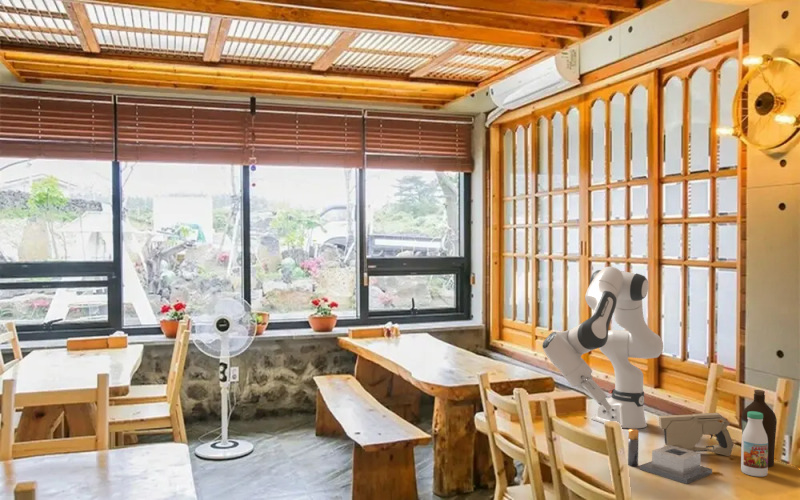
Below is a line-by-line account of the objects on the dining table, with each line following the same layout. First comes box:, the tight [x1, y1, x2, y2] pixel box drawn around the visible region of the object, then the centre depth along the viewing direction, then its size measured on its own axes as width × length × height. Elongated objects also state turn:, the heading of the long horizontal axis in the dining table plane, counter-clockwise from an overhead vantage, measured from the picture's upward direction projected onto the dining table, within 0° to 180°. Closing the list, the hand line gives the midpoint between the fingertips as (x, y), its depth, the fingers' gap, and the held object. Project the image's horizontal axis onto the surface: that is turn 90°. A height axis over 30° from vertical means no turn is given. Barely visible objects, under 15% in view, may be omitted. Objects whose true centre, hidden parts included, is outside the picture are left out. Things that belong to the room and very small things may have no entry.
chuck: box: [639, 445, 713, 485], centre depth 213 cm, size 16×16×6 cm
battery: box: [627, 428, 640, 468], centre depth 219 cm, size 3×3×12 cm
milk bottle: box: [740, 411, 769, 477], centre depth 213 cm, size 8×8×20 cm
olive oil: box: [741, 389, 778, 468], centre depth 223 cm, size 11×11×25 cm
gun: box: [658, 412, 734, 457], centre depth 232 cm, size 24×3×15 cm, turn 84°
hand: (605, 406), depth 219 cm, fingers open, 8 cm apart
